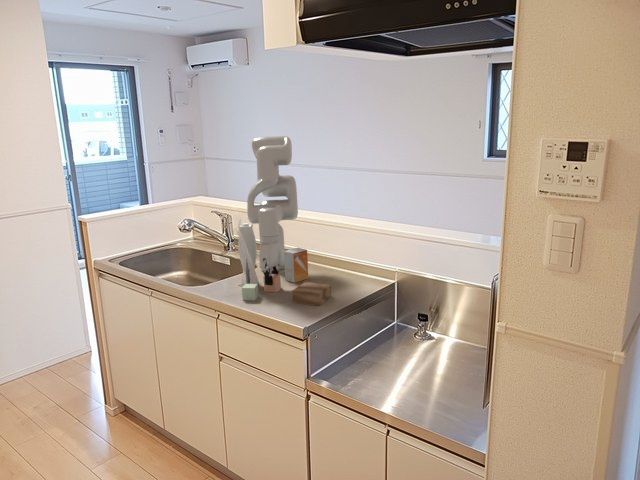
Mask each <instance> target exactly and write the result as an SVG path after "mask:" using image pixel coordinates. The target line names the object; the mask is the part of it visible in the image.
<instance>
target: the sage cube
mask: <svg viewBox="0 0 640 480" xmlns="http://www.w3.org/2000/svg"><path fill="white" fill-rule="evenodd" d="M258 286H259V285H258V284H245V285H244V286H243V287H242V286H241V295H242V301H256V300H257V298H258V297H259V296H260V295H259V287H258Z"/></svg>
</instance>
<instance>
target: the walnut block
mask: <svg viewBox="0 0 640 480" xmlns="http://www.w3.org/2000/svg"><path fill="white" fill-rule="evenodd" d="M291 291H292V292H291V293H292V294H291V295H292V298H291V299H292V303H294V304H296V303H297V304H301V305H302V304H303V305H311V306H316V307H317V306H318V307H320V306H321V305H322V304H323V303H325V302H326V301H327V300H329V299H330V298H332V284H327V283H319V282H311V281H310V282H309V281H305V282H303V283H302V284H300V285H298V286H297V287H295V288H294V289H292V290H291Z"/></svg>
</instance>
